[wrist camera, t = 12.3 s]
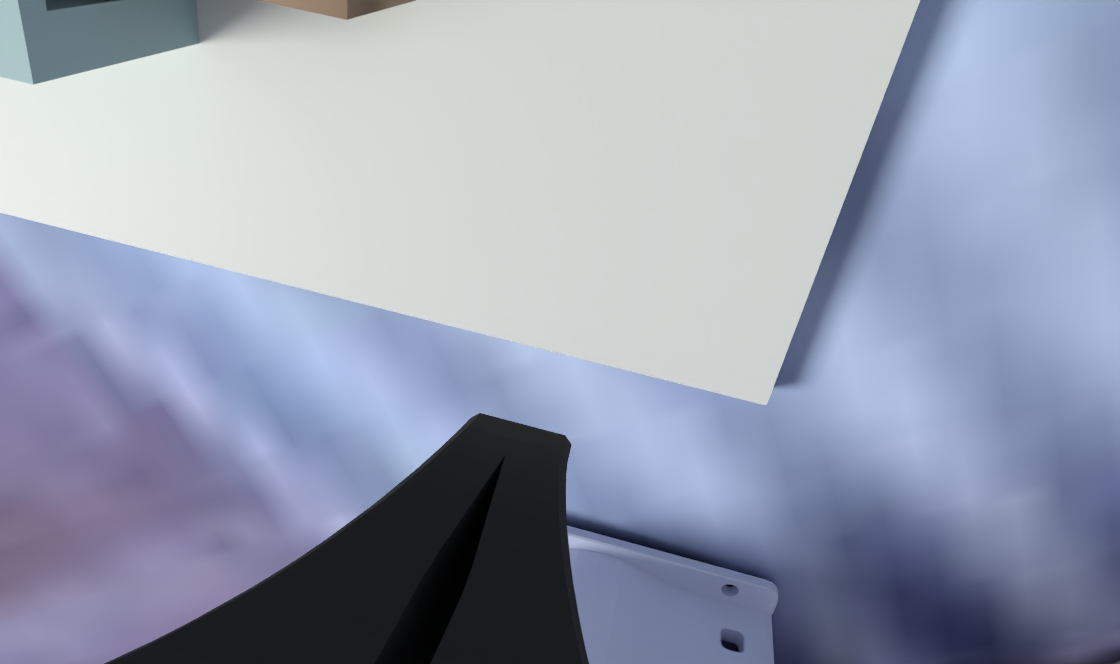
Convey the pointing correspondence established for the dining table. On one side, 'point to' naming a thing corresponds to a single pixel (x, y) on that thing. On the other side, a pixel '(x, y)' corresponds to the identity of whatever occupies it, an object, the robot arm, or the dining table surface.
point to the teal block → (88, 34)
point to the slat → (340, 6)
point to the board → (489, 164)
